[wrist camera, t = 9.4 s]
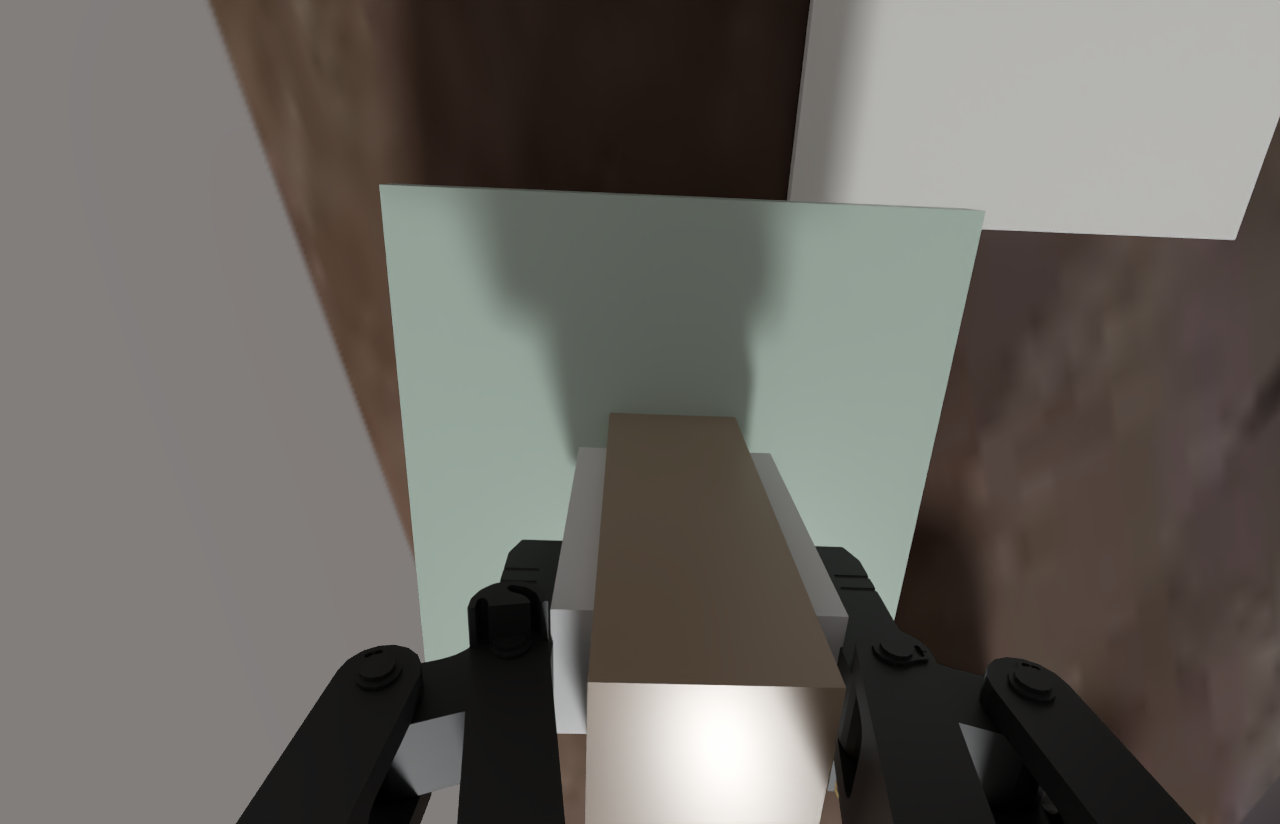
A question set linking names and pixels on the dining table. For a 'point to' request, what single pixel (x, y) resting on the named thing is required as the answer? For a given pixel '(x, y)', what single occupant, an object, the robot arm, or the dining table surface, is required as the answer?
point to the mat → (1042, 110)
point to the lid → (675, 450)
